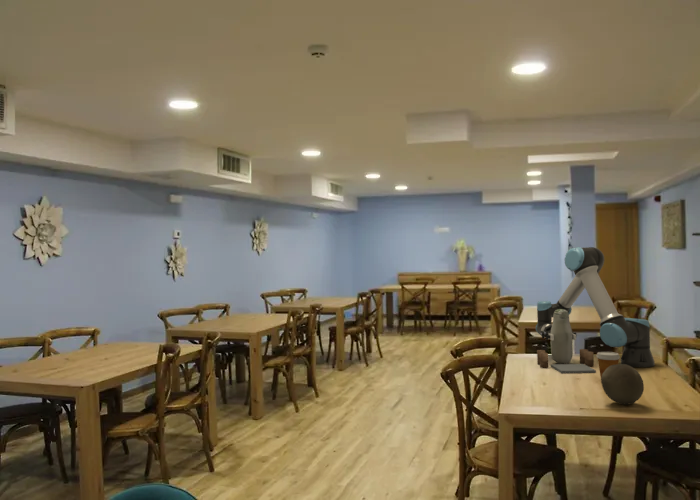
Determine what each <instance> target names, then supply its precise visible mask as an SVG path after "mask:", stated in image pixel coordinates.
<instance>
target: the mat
mask: <svg viewBox="0 0 700 500" xmlns="http://www.w3.org/2000/svg"><path fill="white" fill-rule="evenodd" d="M550 367H551V368H552V369H553V370H554V371H556V372H559V373H560V374H562V375H563V374H596V373H597V370H596V369H594V368H593V367H588V366H586V365H585V364H580V363H568V364H558V363H555V364H550Z"/></svg>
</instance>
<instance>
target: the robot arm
mask: <svg viewBox="0 0 700 500" xmlns="http://www.w3.org/2000/svg"><path fill="white" fill-rule="evenodd" d="M604 263H605V255H604V253H603V252H602V250H600V248H598V247H592V246H590V247H589V246H588V247H587V246H586V247H580V246H579V247H571V248H570V249H568V251H567V252H566V254H565V257H564V264H565V267H566V268H567V269H568V270H570V271H572V272H573V273H574V278H573V279H572V281H571V282H570V283H569V285H568V287H566V289H565V290H564V292H563V293H562V295H561V296H560V298H559V299H558V300H557V302H556V303H552V302H551V301H548V300H540V301H538V302H537V303H536V314H537V315H536V316H537V317H536V319H537V321H536V322H537V324H536V325H535V331H536V333H537V334H538V335H540V337H541V339H545V340H546V341H548V340H550V341H551V340H552V341H554V335H552V334H551V328H552V324H553V319H552V318H553V315H554V312H555V311H556V310H558V309H564V310H566V311H567V312H568V314H569V316H570V315H571V313H572V307H573V305H574V304H575V302H576V301H577V300H578V298H579V297H580V296H581V294H582V293H583V291H584V290H585V291H586V292H587V294H588V297H589V298H590V301H591V302H592V304H593V306H594V309H595V311H596V312H597V315H598V317H599V318H600V322H599V326H600V327H599V337H600V339H601V341H602V342H603V343H604V344H605V345H606V346H609V347H611V348H612V347H613V348H621V347H622V348H623V351H622V354H621V357H620V364H626V365H629V366H631V367H633V368H651V367H655V365H656V363H655V358H654V357H653V354H652V352H651V335H650V333H651V332H650V331H651V330H650V328H651V327H650V322H649V320H647V319H643V318H642V319H641V318H631V317H624V315H623V314H620V313H619V312H618V310H617V308H616V305H615V304H614V303H613V300H612V298H611V296H610V295H609V293H608V291H607V289H606V287H605V285H604V282H603V281H602V279H601V277H600V275H599V273H600V272H601V270H602V268H603V267H604ZM572 336H573V341H577V332H574V331H572Z"/></svg>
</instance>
